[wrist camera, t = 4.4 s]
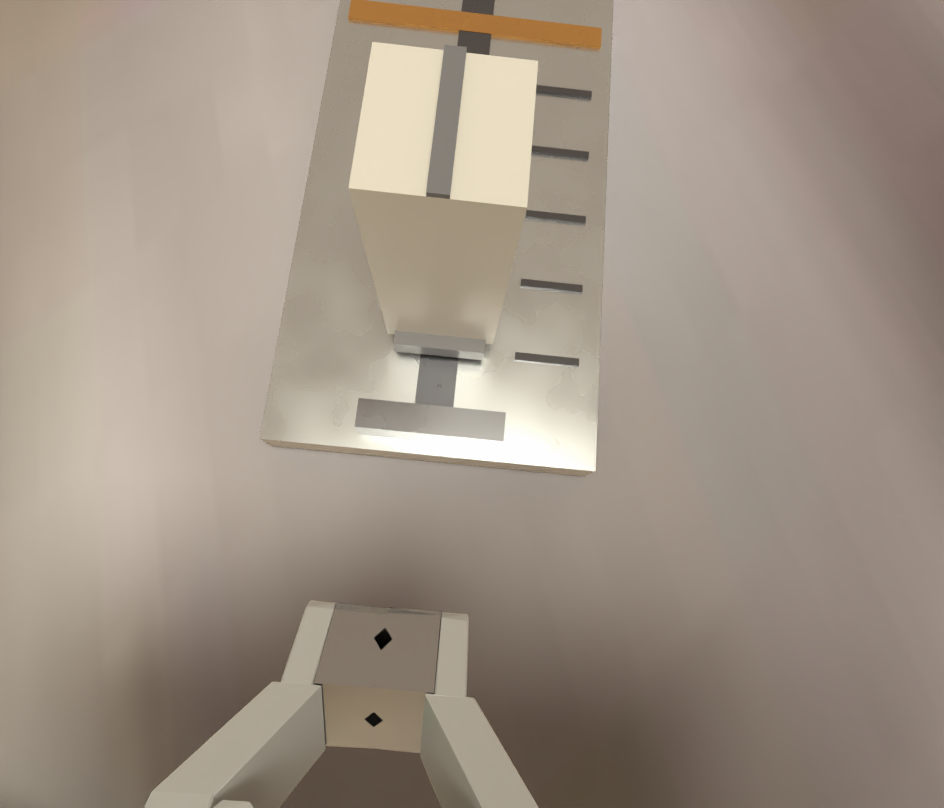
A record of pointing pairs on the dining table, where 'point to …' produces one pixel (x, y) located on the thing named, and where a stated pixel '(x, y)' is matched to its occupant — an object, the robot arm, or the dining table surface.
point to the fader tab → (442, 190)
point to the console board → (531, 280)
